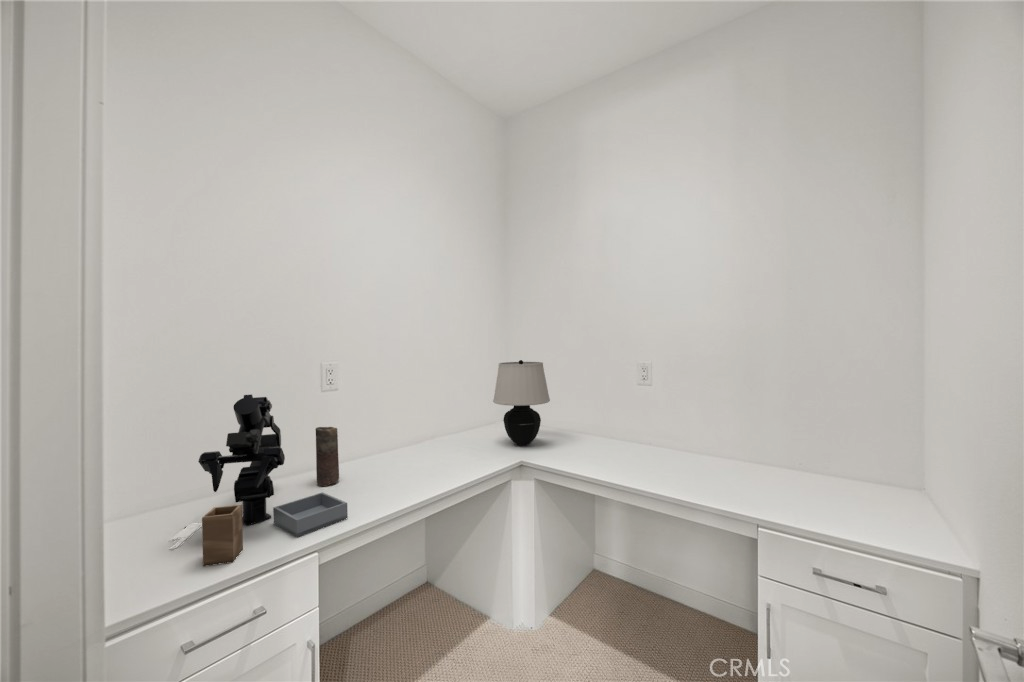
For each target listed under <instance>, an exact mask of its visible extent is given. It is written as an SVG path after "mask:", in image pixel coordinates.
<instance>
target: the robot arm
mask: <svg viewBox="0 0 1024 682" xmlns="http://www.w3.org/2000/svg"><path fill="white" fill-rule="evenodd" d="M272 409H273V404H272V403H271V401H270V400H268V397H267V396H259V397H253V394H243V398H240V399H239V400H237V401H236V402H235V403H234V404H233V412H234V414H235V419H236V421H237V423H238V425H239V429H238V432H230V433H229V432H228V433H227V437H226V443H225V447H227V448H228V451H229V453H231V455H222V454H221V451H218V450H215V451H205V452H203V453H201V454H200V456H199V458H198V463H199V464H200V466H201V467H202V469H203V470H204V472H207V473H208V474H210V475H211V483H212V489H213V492H214V493H217V492H218V489H219V487H220V484H221V480H222V477H223V474H224V471H223V469H224V466H225V464H234V463H235V464H236V463H250V464H249V466H244V467H243V466H242V468H241V469H240V471H239V473H238V476H237V479H236V480H235V481H234V482H233V484H234V485H233V492H234V494H233V495H234V501H235V503H240V502H241V503H242V525H244V526H250V525H253V524H256V523H260V522H262V521H265V520H268V519H271V518H272V515H271V514H269V513H267V498H268V499H269V498H271V497H272V496H274V495H275V491H274V490H275V488H274V487H275V486H274V483H273V480H272V479H271V476H270V474H271V473H272V472H273V470H274V469H275V470H276V469H278V467H279V466H283V465H284V464H285V460H286V459H285V457H286V456H285V454H284V450H283V448H282V434H281V433H282V431H281V429H280V427H279V426H278V425H277V424H276V423H275V420H274V415H271V414H270V412H271V410H272ZM264 428H266V429H267V428H271V430H272V432H273V433H269V434H268V433H267V434H263V431H264Z"/></svg>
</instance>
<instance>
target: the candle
mask: <svg viewBox="0 0 1024 682" xmlns="http://www.w3.org/2000/svg"><path fill="white" fill-rule="evenodd" d="M338 438H339V435H338V428H337V427H334V426H318V427H315V452H316V453H315V455H316V456H315V459H316V471H315V472H316V484H317V486H318V487H325V486H326V487H327V486H330V485H332V484H336V483H337V482H338V481H339V480H340V467H339V465H340V464H339V463H340V462H339V439H338Z"/></svg>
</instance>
